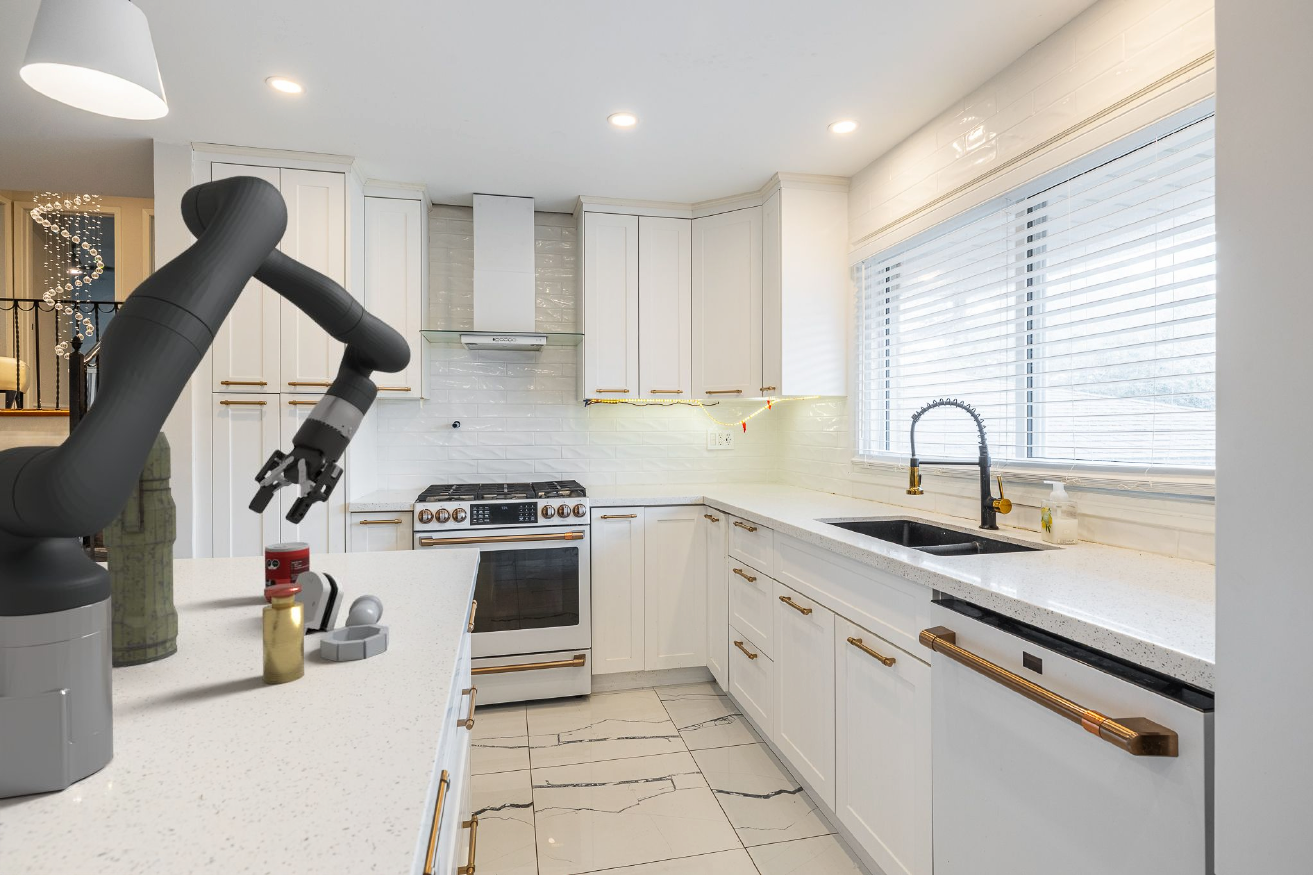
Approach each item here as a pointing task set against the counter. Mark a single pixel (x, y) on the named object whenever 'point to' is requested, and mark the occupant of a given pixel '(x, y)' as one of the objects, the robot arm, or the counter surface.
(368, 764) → the counter surface
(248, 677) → the counter surface
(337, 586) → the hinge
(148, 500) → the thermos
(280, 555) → the canned food
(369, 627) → the grey octagonal holder
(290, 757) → the counter surface
